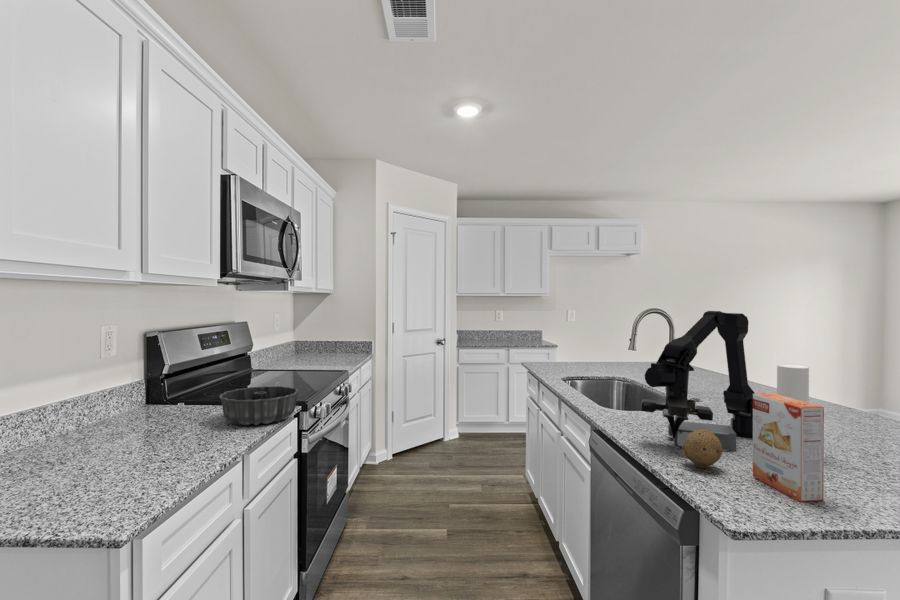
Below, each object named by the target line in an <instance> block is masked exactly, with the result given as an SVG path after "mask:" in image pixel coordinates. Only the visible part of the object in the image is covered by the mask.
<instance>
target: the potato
mask: <svg viewBox="0 0 900 600" xmlns="http://www.w3.org/2000/svg"><path fill="white" fill-rule="evenodd" d="M681 451H682V454H683V455H684V457H685V458H686V459H687V460H689V461H690V462H691V463H692V464H693V465H695V466H696V467H699V468H700V469H706V468H709V467H711V466H713V465H714V464H716V463H717V462H718V461H719V460H720V459H721V458H722V456H723V451H722V445H721V443H720V441H719V439H718V438H717V437H716V436H715V435H714V434H713V433H712V432H710V431H707V430H703V429H698V430H695V431H693V432H691V433H690V434H689V435H688V437H687V438H686V440H685V442H684V443H683V446H681Z"/></svg>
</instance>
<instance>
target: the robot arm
mask: <svg viewBox="0 0 900 600" xmlns="http://www.w3.org/2000/svg"><path fill="white" fill-rule="evenodd" d="M715 329H716V330H717V333H718V335H719V336H720V337H721V338H722V340H723V341H724V345H725V353H726V354H725V355H726V363H727V372H728V381H729V385H728V387H727V388H726V390H723V403H724V404H725V407H726V412H727V414H731V415H732V417H730V426H731V428H732V429H733V430H734V432H735V433H736V437H743V438H753V394H755V391H754V390H753V389H752V388H751V386H750V385H749V381H748V371H747V363H746V362H747V361H746V355H745V346H744V344H745V343H744V339H745V337H746V336H747V335H748V333H749V319H748V316H746V315H745V314H744V313H736V312H734V313H733V312H723V311H720V310H707V311H705V312H704V313H703V315H702V317H701V318H700V319H699V320H697V321H696V323H695V324H693V326H692V327H691V328H689V330H688V331H686V332H685V334H684V335H682V336H681V337H678V338H674V339H672V340H671V341H669V342H668V343H667V344H665V346H664V348H663V350H662V352H661V354H660V356H659V357H658V358H657V360H656V362H652V363H650V367H649V368H647V369H646V371H645V373H644V380H645V383H646V384H647V385H648V386H649V387H650V388H660V387H661V388H663V387H666V388H665V402H664V403H657V401H656V400H655V399H650V398H649V399H648V398H643V399H641V405H640V407H641V408H640V411H641V412H645V413H655V412H656V411H662V413H661V414H662V416H663V417H664V418H667V421H668V424H670V426H671V430H672V434H673V435H672V436H671V437H672V439H673V438H675V435H676V433H677V431H678V429H679V427H680V425H681V424H682V422H683V421H684V422H685V421H688V420H689V415H691V416H692V415H693V416H697V417H698V419H699V420H701V421H708V422H709V421H710V422H713V418H714V413H713V411H712V408H710V407H709V406H705V405H704V406H703V405H696V400H695V399H688V394H689V379H690V378H689V376H690V372H694V371H695V368H694V367H693V366H692V365H691V364H690V363H692V361H694V358H695V357H696V356H697V354H698V347H699V346H700V345H701V344H702V343H703V342H704V341H705V340H706V339H707V338H708V337H709V336H710V335H711V334H712V333H713V332H714V331H715Z"/></svg>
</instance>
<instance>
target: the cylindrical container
mask: <svg viewBox="0 0 900 600" xmlns="http://www.w3.org/2000/svg"><path fill="white" fill-rule="evenodd" d="M809 383H810V367H808V366H806V365H799V364H797V365H796V364H786V363H785V364H777V365H776V394H779V395H783V396H786V397H790V398H793V399H797V400H800V401H804V402H808V403H810V399H809V397H810V394H809V393H810V384H809Z"/></svg>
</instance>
